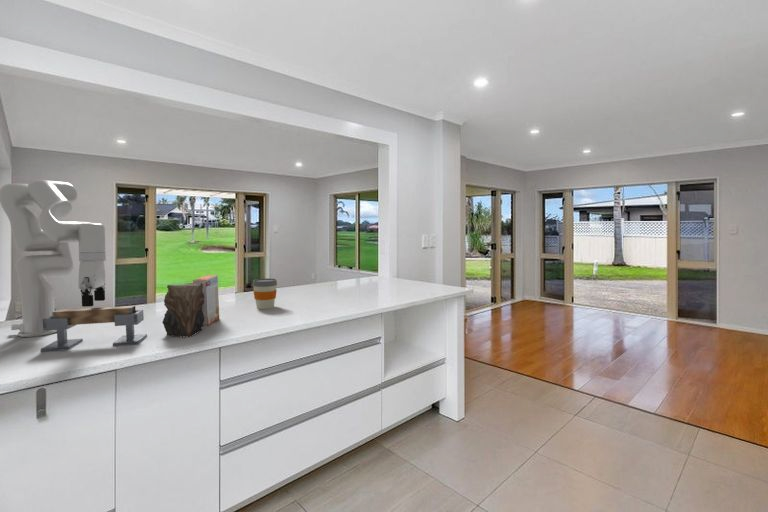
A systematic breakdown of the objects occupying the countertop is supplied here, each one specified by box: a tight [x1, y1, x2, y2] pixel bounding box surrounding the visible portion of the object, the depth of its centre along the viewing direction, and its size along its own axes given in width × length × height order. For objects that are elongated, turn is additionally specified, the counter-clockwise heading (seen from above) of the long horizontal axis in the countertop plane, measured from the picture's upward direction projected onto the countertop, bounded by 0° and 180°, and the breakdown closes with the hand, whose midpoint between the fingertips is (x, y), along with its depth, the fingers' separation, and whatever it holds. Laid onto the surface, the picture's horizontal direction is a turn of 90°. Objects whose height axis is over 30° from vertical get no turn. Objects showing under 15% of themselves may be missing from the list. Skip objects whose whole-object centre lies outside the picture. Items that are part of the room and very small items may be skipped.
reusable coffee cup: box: [252, 278, 278, 310], centre depth 197 cm, size 13×13×15 cm
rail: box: [52, 305, 137, 326], centre depth 133 cm, size 24×4×5 cm, turn 108°
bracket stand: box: [40, 309, 148, 353], centre depth 134 cm, size 29×10×11 cm, turn 108°
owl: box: [161, 282, 204, 338], centre depth 149 cm, size 13×13×20 cm
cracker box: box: [192, 274, 220, 327], centre depth 164 cm, size 14×6×21 cm, turn 5°
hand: (93, 303), depth 133 cm, fingers open, 9 cm apart
